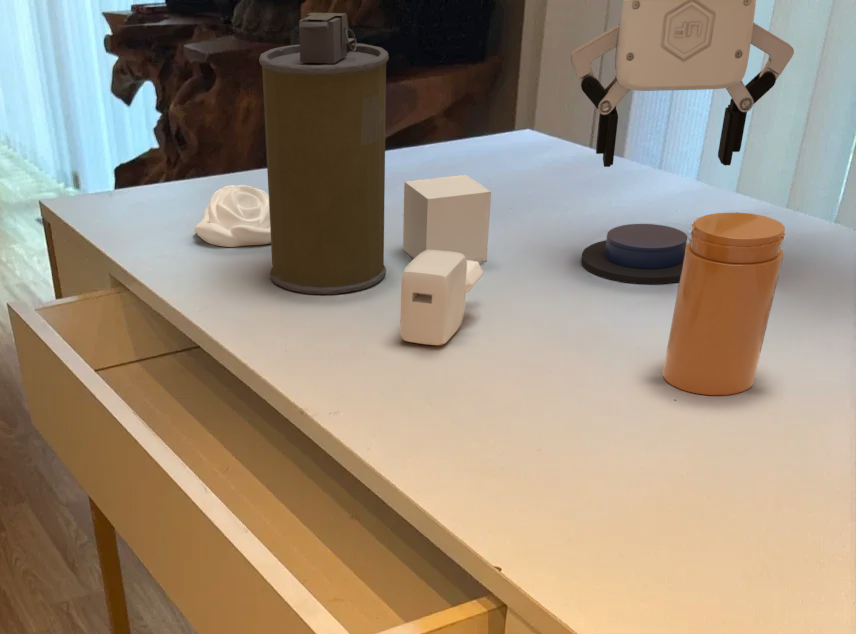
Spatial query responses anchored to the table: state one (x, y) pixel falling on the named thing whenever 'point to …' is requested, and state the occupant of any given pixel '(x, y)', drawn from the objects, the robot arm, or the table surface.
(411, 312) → the power adapter
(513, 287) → the table surface
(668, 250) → the jar lid
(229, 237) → the rose
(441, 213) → the beige cube
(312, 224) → the canister
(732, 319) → the jar
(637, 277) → the coaster
